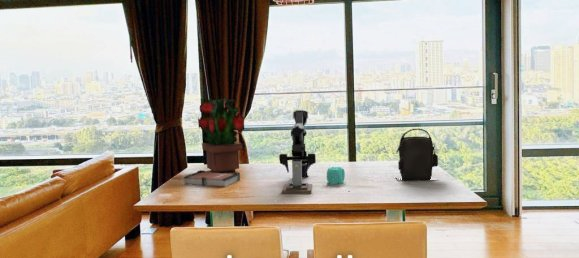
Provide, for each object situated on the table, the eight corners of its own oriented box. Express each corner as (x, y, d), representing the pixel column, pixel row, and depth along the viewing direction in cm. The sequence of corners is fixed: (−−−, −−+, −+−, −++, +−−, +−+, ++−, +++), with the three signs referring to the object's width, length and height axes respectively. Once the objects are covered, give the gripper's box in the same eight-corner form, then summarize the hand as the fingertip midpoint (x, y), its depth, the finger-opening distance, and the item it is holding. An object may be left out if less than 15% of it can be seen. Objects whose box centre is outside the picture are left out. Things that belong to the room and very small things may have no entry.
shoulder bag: (435, 177, 264) (436, 127, 261) (440, 180, 255) (440, 128, 252) (394, 177, 265) (394, 128, 262) (397, 181, 256) (397, 129, 253)
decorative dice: (330, 180, 263) (330, 166, 262) (344, 181, 260) (344, 167, 259) (326, 183, 255) (326, 169, 254) (341, 184, 253) (340, 169, 252)
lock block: (293, 186, 245) (292, 159, 243) (302, 186, 244) (301, 159, 243) (292, 188, 240) (291, 161, 238) (301, 188, 239) (300, 161, 238)
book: (183, 185, 264) (183, 176, 264) (200, 178, 280) (200, 170, 280) (224, 188, 254) (224, 178, 254) (239, 181, 270) (239, 172, 270)
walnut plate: (284, 187, 250) (284, 182, 250) (312, 186, 249) (312, 182, 249) (282, 193, 236) (281, 189, 236) (311, 193, 235) (311, 188, 235)
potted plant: (200, 170, 303) (197, 99, 298) (233, 166, 313) (230, 98, 308) (211, 176, 283) (207, 101, 278) (246, 172, 293) (243, 99, 288)
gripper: (278, 138, 246) (277, 163, 236) (315, 138, 244) (314, 163, 234) (280, 151, 254) (279, 175, 245) (315, 150, 253) (315, 175, 243)
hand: (297, 172), depth 241 cm, fingers open, 9 cm apart
